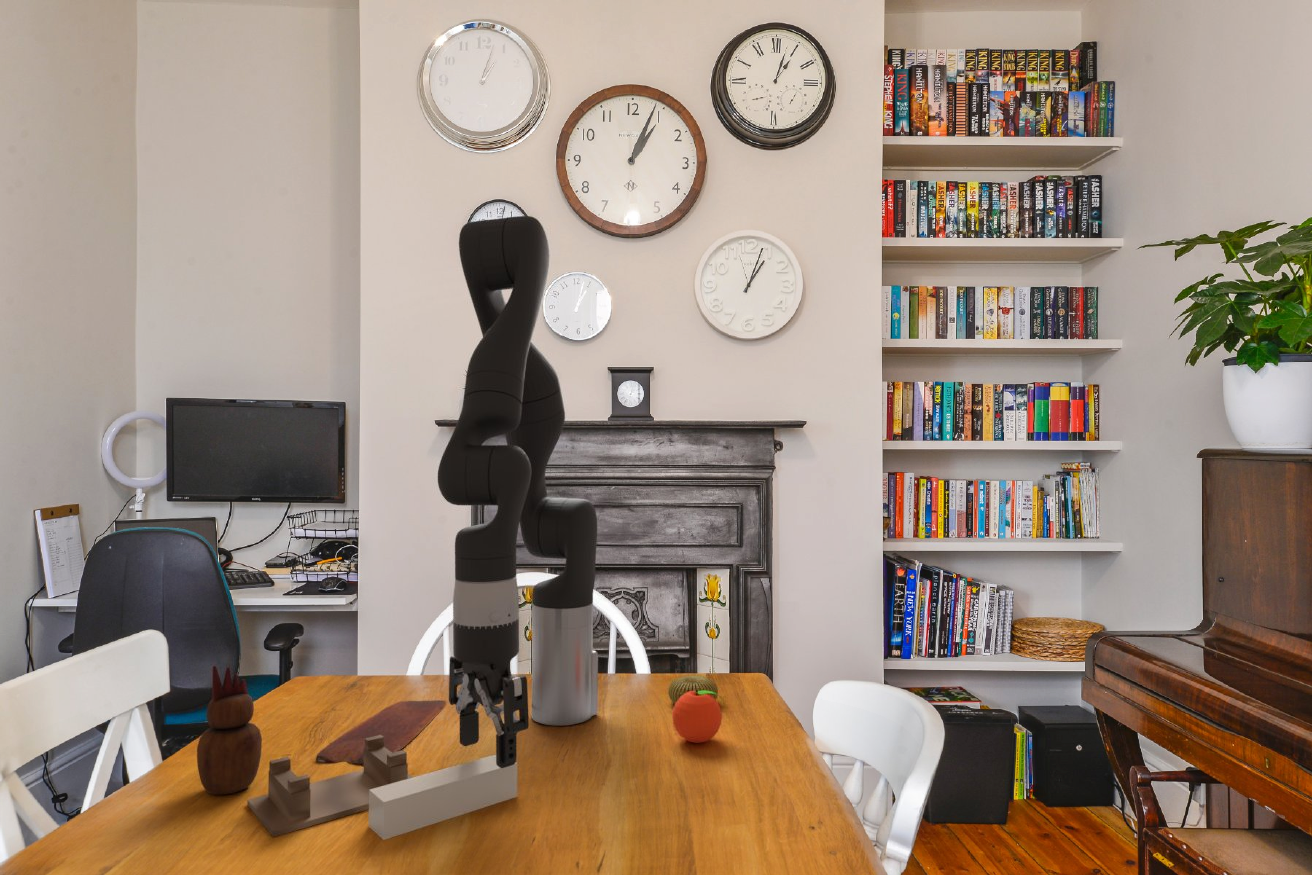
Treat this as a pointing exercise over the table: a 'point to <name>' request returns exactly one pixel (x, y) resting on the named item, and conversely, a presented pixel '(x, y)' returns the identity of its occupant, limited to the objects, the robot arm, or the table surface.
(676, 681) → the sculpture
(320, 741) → the table surface
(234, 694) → the wooden figurine
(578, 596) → the robot arm
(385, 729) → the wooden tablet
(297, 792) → the rack
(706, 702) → the clementine
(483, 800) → the white rectangular block
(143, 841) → the table surface
